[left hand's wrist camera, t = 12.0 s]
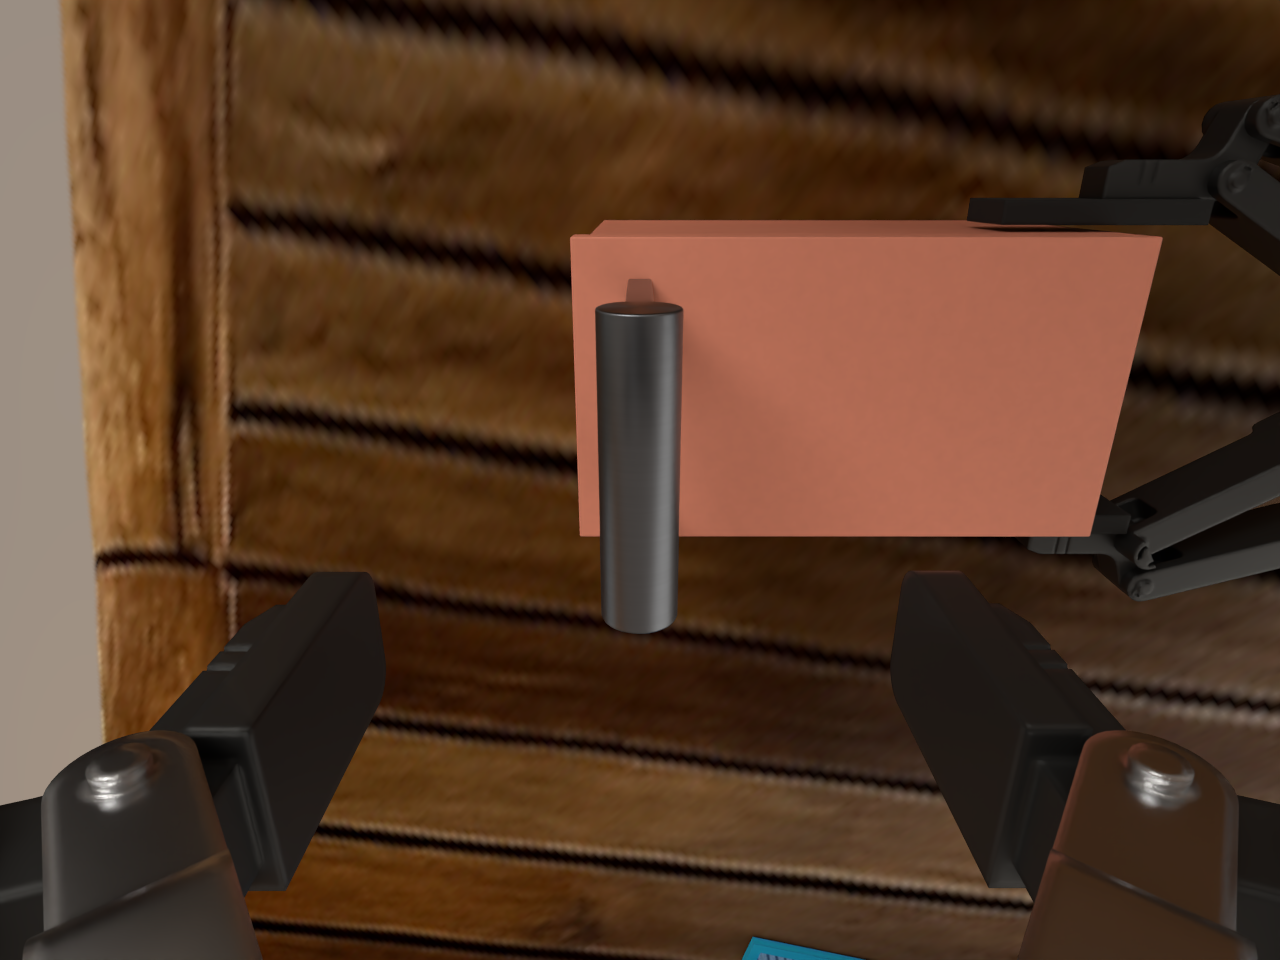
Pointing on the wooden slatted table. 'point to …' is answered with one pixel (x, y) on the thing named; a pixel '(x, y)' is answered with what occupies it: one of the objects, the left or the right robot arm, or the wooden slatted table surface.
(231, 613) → the wooden slatted table surface
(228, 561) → the wooden slatted table surface
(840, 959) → the model building
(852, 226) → the chest
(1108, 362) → the lid
